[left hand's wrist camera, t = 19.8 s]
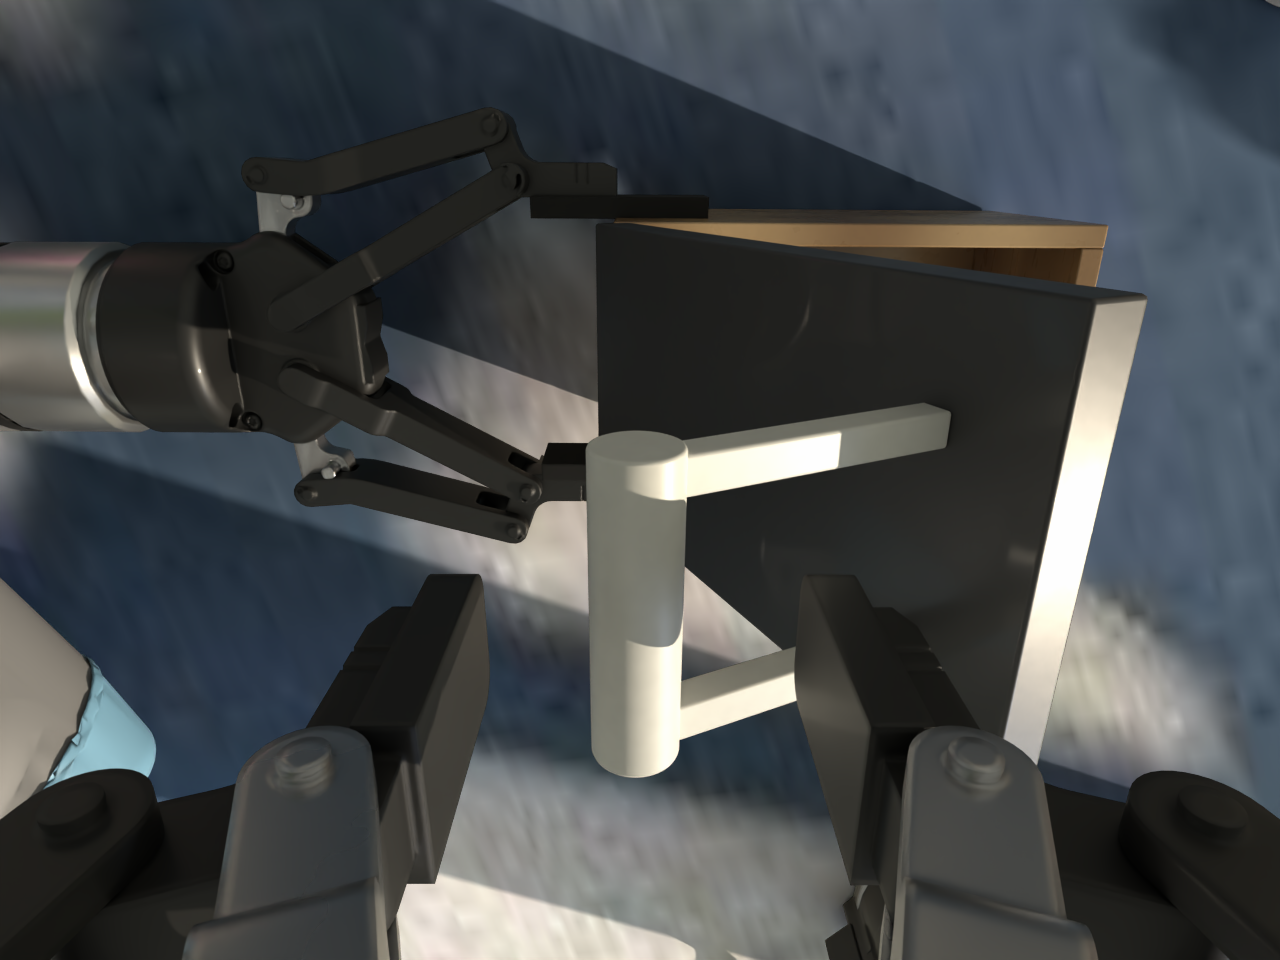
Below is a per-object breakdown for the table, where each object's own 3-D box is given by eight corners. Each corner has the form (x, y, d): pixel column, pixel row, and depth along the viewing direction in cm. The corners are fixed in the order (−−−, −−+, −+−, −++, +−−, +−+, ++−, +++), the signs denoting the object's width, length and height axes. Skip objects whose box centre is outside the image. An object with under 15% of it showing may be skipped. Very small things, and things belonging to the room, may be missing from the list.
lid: (1151, 293, 12) (678, 339, 8) (1030, 801, 15) (663, 975, 12) (629, 222, 27) (383, 228, 23) (629, 488, 30) (415, 526, 27)
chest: (990, 210, 36) (1109, 224, 27) (958, 413, 40) (1053, 486, 31) (620, 208, 36) (613, 221, 27) (620, 411, 40) (614, 484, 31)
